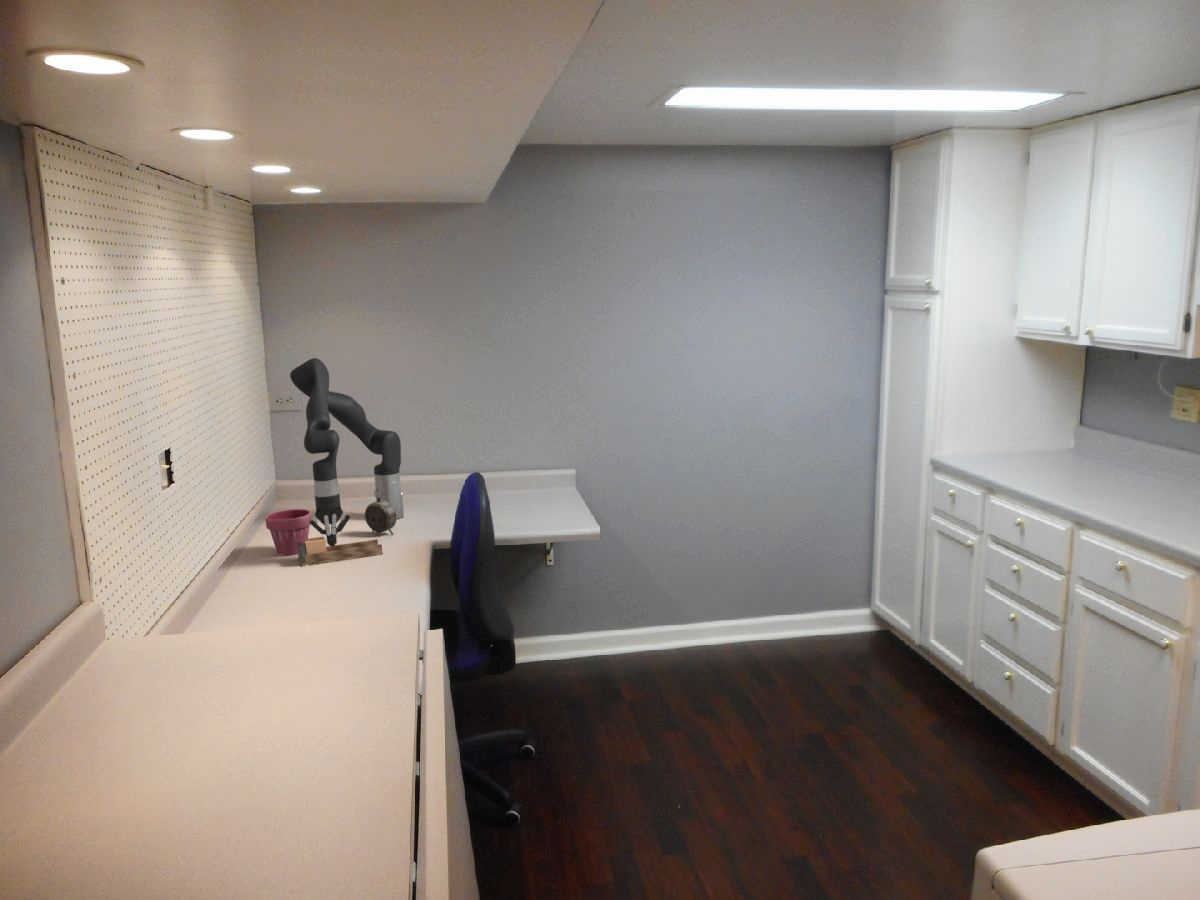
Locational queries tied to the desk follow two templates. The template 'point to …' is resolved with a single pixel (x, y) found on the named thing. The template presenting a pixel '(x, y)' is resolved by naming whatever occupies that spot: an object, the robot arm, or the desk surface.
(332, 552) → the walnut chute
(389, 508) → the alarm clock
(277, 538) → the plant pot
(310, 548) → the terracotta block
